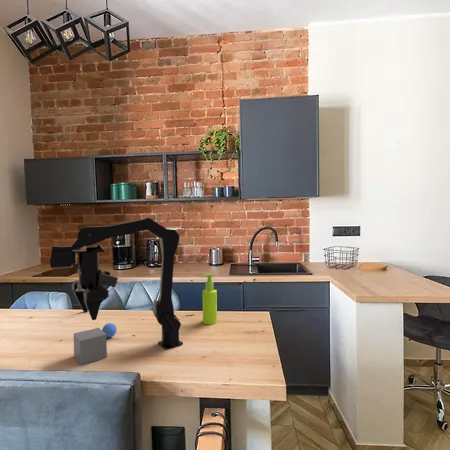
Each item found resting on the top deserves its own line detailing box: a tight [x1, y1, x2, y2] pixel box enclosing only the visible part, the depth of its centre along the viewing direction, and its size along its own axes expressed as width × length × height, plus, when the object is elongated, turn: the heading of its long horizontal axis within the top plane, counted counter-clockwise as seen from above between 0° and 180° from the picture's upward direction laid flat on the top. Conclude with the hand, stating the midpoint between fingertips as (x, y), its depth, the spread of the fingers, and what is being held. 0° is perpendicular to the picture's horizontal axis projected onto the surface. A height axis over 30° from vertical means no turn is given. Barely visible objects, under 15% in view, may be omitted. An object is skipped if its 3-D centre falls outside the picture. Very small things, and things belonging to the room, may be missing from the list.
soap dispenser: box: [199, 273, 218, 325], centre depth 126 cm, size 6×7×20 cm
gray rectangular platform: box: [73, 327, 108, 366], centre depth 95 cm, size 8×8×7 cm
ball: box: [101, 322, 118, 338], centre depth 111 cm, size 5×5×5 cm
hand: (89, 316), depth 95 cm, fingers open, 9 cm apart
